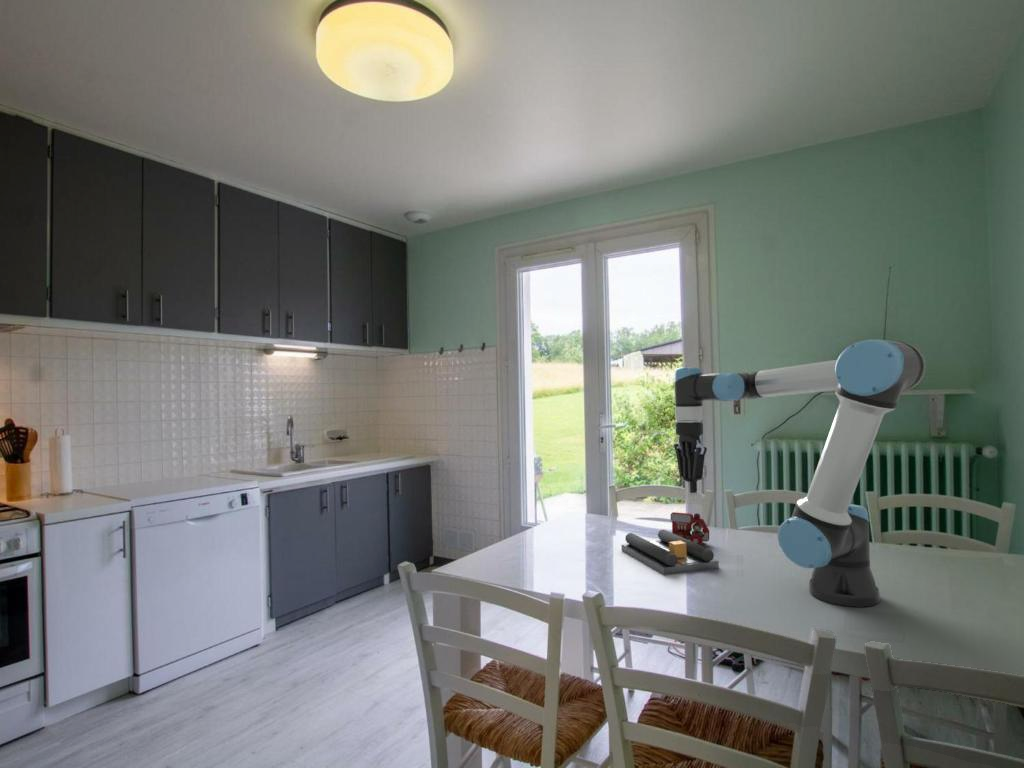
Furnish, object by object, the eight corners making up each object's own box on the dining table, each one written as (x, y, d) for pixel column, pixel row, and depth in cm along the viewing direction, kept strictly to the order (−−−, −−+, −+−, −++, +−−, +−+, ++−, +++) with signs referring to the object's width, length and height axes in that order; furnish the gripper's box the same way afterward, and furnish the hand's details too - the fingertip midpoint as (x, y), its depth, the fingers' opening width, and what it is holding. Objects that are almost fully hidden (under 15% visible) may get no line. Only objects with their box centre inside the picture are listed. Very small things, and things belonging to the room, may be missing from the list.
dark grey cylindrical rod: (716, 562, 162) (716, 549, 162) (705, 563, 161) (705, 551, 161) (665, 538, 188) (665, 528, 188) (656, 539, 187) (655, 529, 187)
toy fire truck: (708, 548, 183) (707, 516, 183) (669, 544, 188) (668, 513, 189) (710, 542, 189) (709, 512, 189) (673, 539, 195) (672, 509, 195)
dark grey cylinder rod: (680, 566, 158) (679, 554, 159) (669, 568, 158) (668, 555, 158) (633, 542, 185) (633, 531, 185) (623, 543, 184) (623, 532, 184)
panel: (718, 567, 163) (718, 560, 163) (664, 575, 158) (663, 567, 158) (670, 544, 188) (669, 538, 188) (621, 550, 183) (621, 543, 183)
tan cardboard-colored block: (686, 556, 166) (686, 543, 166) (674, 558, 165) (674, 544, 165) (680, 553, 169) (680, 540, 169) (669, 555, 168) (668, 541, 168)
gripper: (714, 421, 155) (716, 506, 155) (687, 419, 167) (689, 498, 167) (690, 422, 153) (693, 509, 152) (665, 420, 165) (667, 500, 165)
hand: (691, 503), depth 160 cm, fingers closed
